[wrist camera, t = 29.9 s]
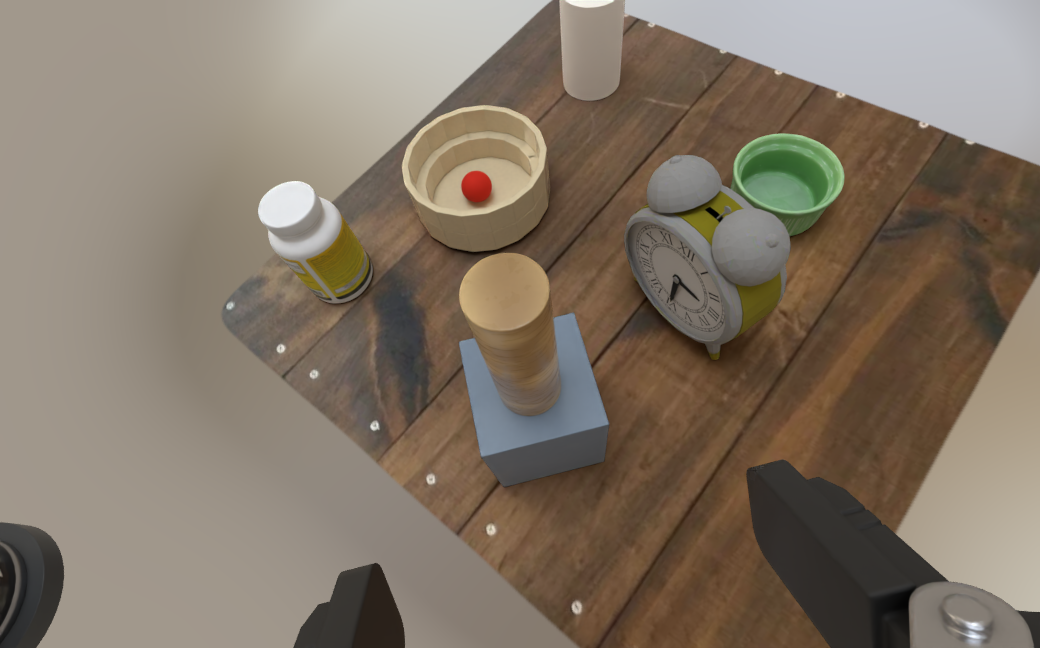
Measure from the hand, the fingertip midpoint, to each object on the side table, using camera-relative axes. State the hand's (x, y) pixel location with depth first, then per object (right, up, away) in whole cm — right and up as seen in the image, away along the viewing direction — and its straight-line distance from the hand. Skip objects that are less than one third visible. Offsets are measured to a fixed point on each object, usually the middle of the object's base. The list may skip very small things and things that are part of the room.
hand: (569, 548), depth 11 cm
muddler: (0, +1, +23) cm, 23 cm away
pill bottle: (-18, +9, +41) cm, 45 cm away
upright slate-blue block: (+1, -3, +32) cm, 32 cm away
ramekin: (+23, +16, +39) cm, 48 cm away
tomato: (-5, +18, +41) cm, 45 cm away
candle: (+7, +32, +49) cm, 59 cm away
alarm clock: (+14, +6, +35) cm, 38 cm away
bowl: (-5, +17, +43) cm, 46 cm away
